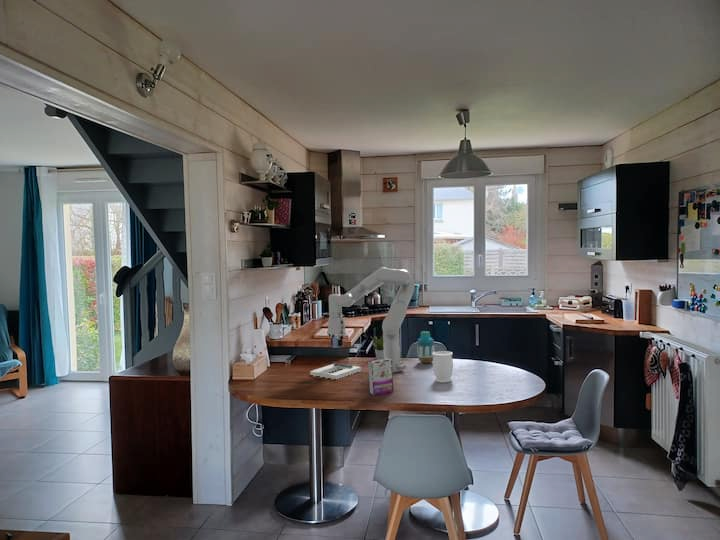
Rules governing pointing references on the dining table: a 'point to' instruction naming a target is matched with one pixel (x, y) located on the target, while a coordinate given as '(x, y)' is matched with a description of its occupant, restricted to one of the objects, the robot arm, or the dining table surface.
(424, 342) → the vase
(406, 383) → the dining table surface
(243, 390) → the dining table surface
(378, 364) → the candy bar box
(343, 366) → the dark gray bar handle
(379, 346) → the house plant
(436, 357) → the jar
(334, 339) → the stacked blue discs
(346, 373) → the white frame with handle
